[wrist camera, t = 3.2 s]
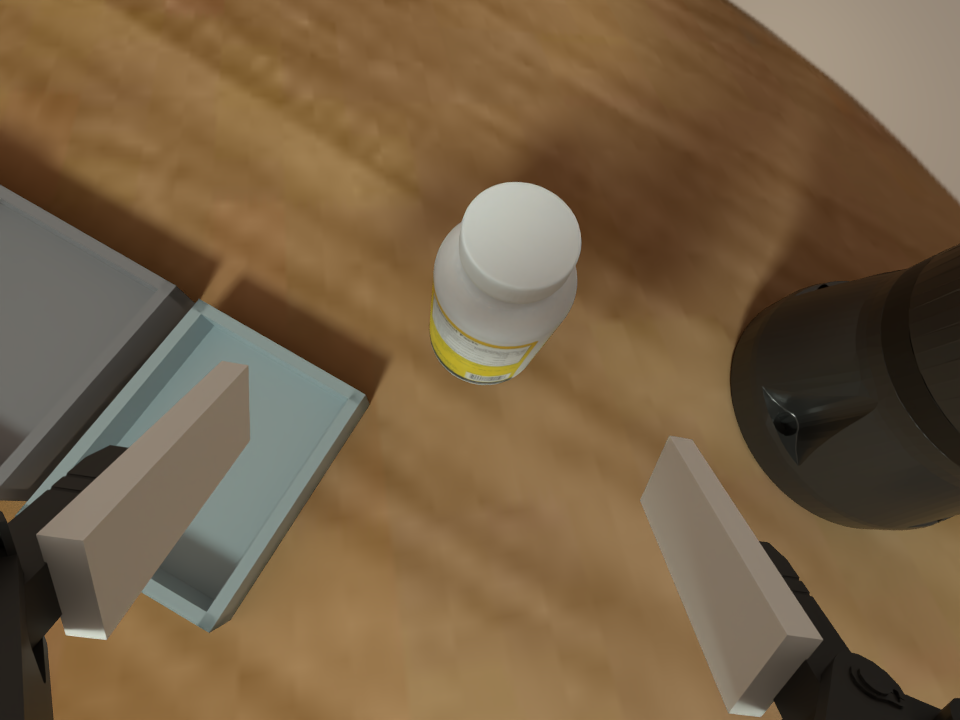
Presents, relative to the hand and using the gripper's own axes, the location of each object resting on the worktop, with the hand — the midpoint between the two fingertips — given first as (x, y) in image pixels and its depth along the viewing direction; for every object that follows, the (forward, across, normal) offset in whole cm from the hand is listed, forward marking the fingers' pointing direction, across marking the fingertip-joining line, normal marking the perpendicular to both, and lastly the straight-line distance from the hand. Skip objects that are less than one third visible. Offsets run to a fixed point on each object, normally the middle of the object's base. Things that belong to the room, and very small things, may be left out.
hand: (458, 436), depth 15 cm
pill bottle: (+14, +1, -3) cm, 15 cm away
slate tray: (+8, -11, -9) cm, 16 cm away
